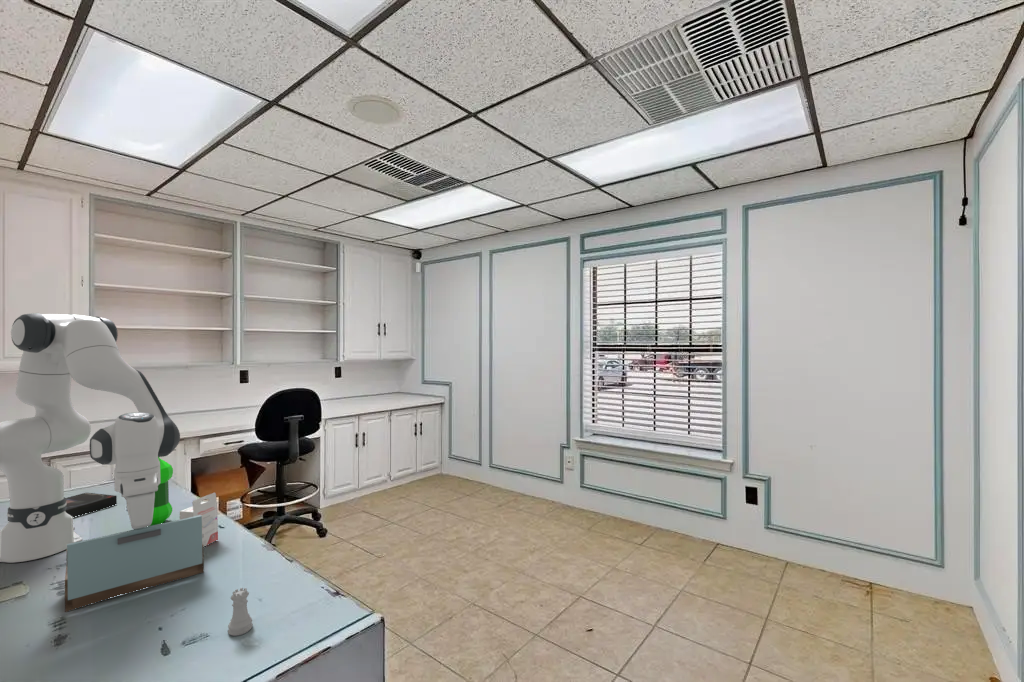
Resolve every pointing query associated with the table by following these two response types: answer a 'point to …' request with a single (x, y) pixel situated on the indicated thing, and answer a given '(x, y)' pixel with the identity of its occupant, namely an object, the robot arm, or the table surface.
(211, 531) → the ink cartridge box
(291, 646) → the table surface
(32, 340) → the robot arm
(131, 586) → the brown long open box
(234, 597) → the rook chess piece
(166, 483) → the plastic bottle
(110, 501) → the flat black box
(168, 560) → the drawer face panel
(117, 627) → the table surface
